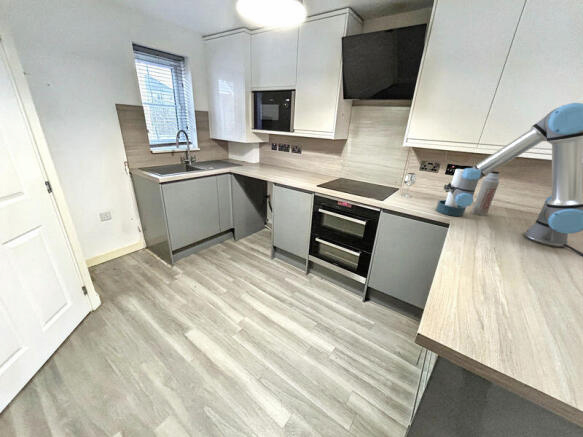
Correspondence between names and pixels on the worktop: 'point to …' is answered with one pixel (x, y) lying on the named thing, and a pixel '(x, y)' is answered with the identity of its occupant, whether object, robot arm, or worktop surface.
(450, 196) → the cylindrical container
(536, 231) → the robot arm
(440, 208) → the bowl
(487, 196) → the thermos bottle
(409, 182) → the wineglass
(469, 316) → the worktop surface
